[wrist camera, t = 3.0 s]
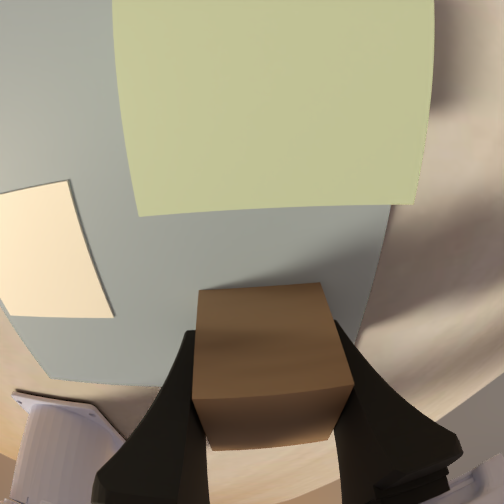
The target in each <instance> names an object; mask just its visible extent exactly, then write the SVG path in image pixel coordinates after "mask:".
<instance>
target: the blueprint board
mask: <svg viewBox="0 0 504 504" xmlns="http://www.w3.org/2000/svg"><path fill="white" fill-rule="evenodd" d="M390 208H391V205H340V206H307V207H282V208H260V209H241V210H224V211H209V212H194V213H180V214H168V215H155V216H144V217H139V215H138V210H137V206H136V201H135V196H134V191H133V186H132V180H131V175H130V169H129V164H128V158H127V152H126V146H125V139H124V133H123V126H122V119H121V111H120V103H119V95H118V86H117V76H116V65H115V53H114V38H113V19H112V0H0V306H1V308H2V310H3V311H4V313H5V315H6V316H7V318H8V320H9V321H10V323H11V324H12V326H13V327H14V329H15V331H16V332H17V334H18V335H19V337H20V338H21V340H22V341H23V342H24V344H25V345H26V347H27V348H28V350H29V351H30V352H31V354H32V355H33V357H34V358H35V359H36V361H37V362H38V363H39V365H40V366H41V367H42V369H43V370H44V371H45V372H46V374H47V375H48V376H49V378H51V379H58V380H66V381H75V382H85V383H97V384H110V385H127V386H154V387H162V386H163V384H164V382H165V380H166V378H167V376H168V374H169V372H170V369H171V367H172V365H173V363H174V361H175V358H176V356H177V353H178V351H179V348H180V346H181V343H182V340H183V337H184V333H185V332H186V331H187V330H196V319H197V305H198V293H199V290H213V289H231V288H247V287H263V286H277V285H291V284H304V283H317V282H320V283H321V286H322V289H323V291H324V294H325V297H326V300H327V303H328V305H329V308H330V311H331V314H332V317H333V320H334V319H335V320H337V321H338V323H339V324H340V326H341V327H342V329H343V330H344V332H345V333H346V334H347V336H348V337H349V338H350V340H351V341H352V342H353V344H355V341H356V338H357V335H358V332H359V329H360V325H361V322H362V319H363V316H364V312H365V309H366V306H367V302H368V299H369V295H370V292H371V288H372V284H373V281H374V277H375V273H376V269H377V265H378V261H379V257H380V253H381V249H382V245H383V241H384V236H385V232H386V227H387V223H388V218H389V213H390Z"/></svg>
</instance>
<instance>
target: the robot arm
mask: <svg viewBox="0 0 504 504" xmlns="http://www.w3.org/2000/svg"><path fill="white" fill-rule="evenodd" d="M334 323H335V326H336V329H337V332H338V335H339V338H340V341H341V344H342V347H343V350H344V353H345V356H346V359H347V362H348V365H349V368H350V371H351V374H352V378H353V381H354V386H353V389H352V391H351V393H350V395H349V397H348V400H347V402H346V404H345V406H344V408H343V410H342V412H341V414H340V416H339V419H338V421H337V423H336V425H335V427H334V435H335V441H336V447H337V454H338V462H339V470H340V480H341V492H342V504H504V458H503V455H502V453H499V454H497V455H495V456H494V457H492V458H490V459H488V460H487V461H485V462H483V463H481V464H480V465H478V466H476V467H475V468H473V469H472V470H471V471H469V472H467V473H465V474H463V475H461V476H459V477H457V478H455V479H453V480H450V481H447V477H446V475H448V474H449V471H448V468H447V466H449V465H450V464H452V463H453V462H455V461H456V460H457V459H458V458H460V457H461V456H462V455H463V450H462V447H461V445H460V442H459V440H458V438H457V436H456V434H455V433H453V432H451V431H449V430H447V429H446V428H444V427H442V426H440V425H438V424H437V423H436V422H434V421H433V420H431V419H430V418H428V417H427V416H425V415H424V414H422V413H421V412H420V411H419V410H417V409H416V408H415V407H413V406H412V405H411V404H409V403H408V402H407V401H406V400H405V399H404V398H402V397H401V396H400V395H399V394H398V393H397V392H396V391H395V390H394V389H393V388H391V387H390V386H389V385H388V384H387V383H386V382H385V381H384V379H383V378H382V377H381V376H380V375H379V374H378V373H377V372H376V371H375V370H374V369H373V367H372V366H371V365H370V364H369V363H368V361H367V360H366V359H365V358H364V357H363V355H362V354H361V353H360V352H359V350H358V349H357V348H356V347H355V345H354V344H353V342H352V341H351V340H350V338H349V337H348V336H347V334H346V333H345V332H344V330H343V329H342V327H341V326H340V324H339V323H338V321H337V320H335V319H334ZM195 333H196V330H187V331H186V332H185V333H184V337H183V340H182V343H181V346H180V348H179V351H178V353H177V356H176V358H175V361H174V363H173V365H172V367H171V369H170V372H169V374H168V376H167V378H166V380H165V382H164V384H163V386H162V388H161V389H160V391H159V393H158V395H157V397H156V399H155V400H154V402H153V404H152V405H151V407H150V409H149V410H148V412H147V413H146V415H145V416H144V418H143V419H142V421H141V422H140V423H139V425H138V426H137V428H136V429H135V430H134V432H133V433H132V434H131V436H130V437H129V438H128V439H127V440H126V441H125V440H124V438H123V437H122V436H121V435H120V434H119V433H118V432H117V431H116V430H115V429H114V428H113V427H112V425H111V424H110V423H109V422H108V421H107V420H106V419H105V417H104V416H103V415H102V414H101V413H100V412H99V410H98V409H97V408H96V407H95V406H93V405H91V404H85V403H77V402H70V401H63V400H56V399H50V398H45V397H39V396H34V395H29V394H24V393H19V392H12V394H11V396H12V398H13V399H14V400H15V401H16V402H17V403H18V404H19V405H20V406H21V407H22V408H23V409H24V410H25V411H26V412H27V413H28V414H29V416H28V419H27V423H26V426H25V430H24V434H23V437H22V441H21V445H20V449H19V453H18V458H17V462H16V467H15V472H14V477H13V482H12V487H11V493H10V498H11V499H13V500H15V501H17V502H19V503H21V504H210V501H209V489H208V476H207V459H206V434H205V431H204V429H203V426H202V424H201V421H200V419H199V416H198V414H197V411H196V408H195V406H194V403H193V400H192V387H193V367H194V349H195ZM0 504H18V503H16V502H13V501H11V500H8V499H4V502H3V501H1V500H0Z"/></svg>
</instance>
